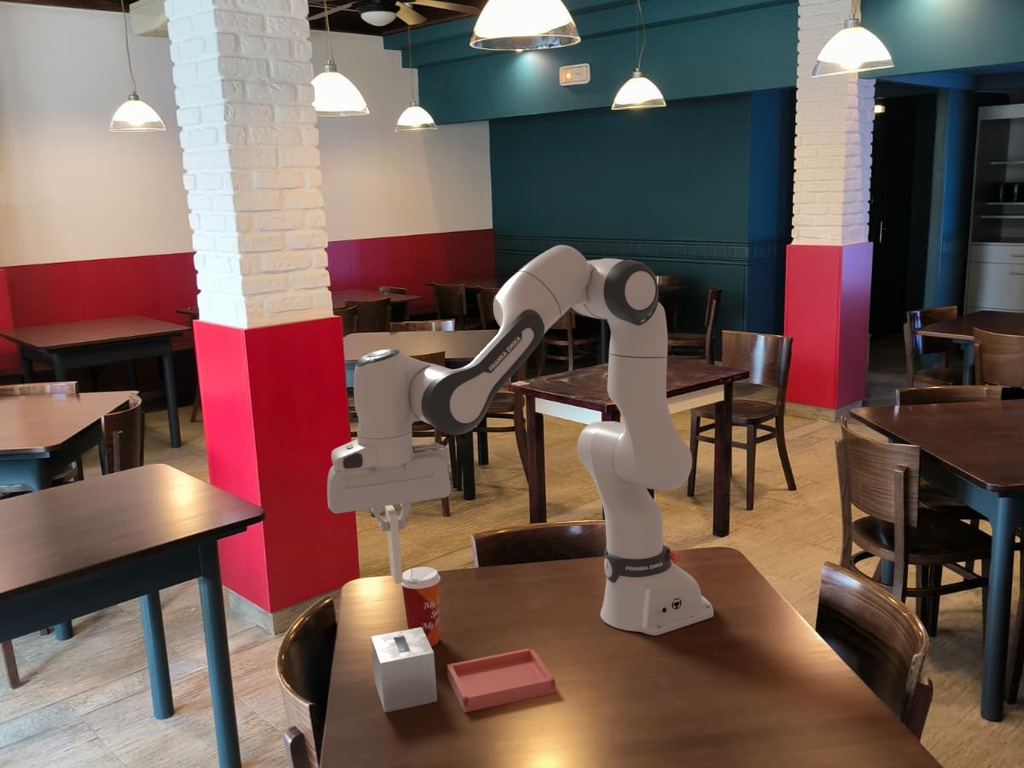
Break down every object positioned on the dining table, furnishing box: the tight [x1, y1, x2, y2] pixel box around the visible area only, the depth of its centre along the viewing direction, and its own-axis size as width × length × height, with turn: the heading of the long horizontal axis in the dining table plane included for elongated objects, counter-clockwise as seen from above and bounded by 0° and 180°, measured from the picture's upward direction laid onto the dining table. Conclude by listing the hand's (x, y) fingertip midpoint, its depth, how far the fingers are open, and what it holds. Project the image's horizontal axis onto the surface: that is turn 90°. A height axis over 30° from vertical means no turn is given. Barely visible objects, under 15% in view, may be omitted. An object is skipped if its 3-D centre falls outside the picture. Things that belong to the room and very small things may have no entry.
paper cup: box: [399, 566, 441, 648], centre depth 171 cm, size 8×8×14 cm
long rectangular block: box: [384, 505, 403, 585], centre depth 149 cm, size 1×5×12 cm, turn 17°
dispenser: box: [370, 627, 438, 713], centre depth 153 cm, size 9×10×9 cm
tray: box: [446, 647, 556, 713], centre depth 155 cm, size 16×12×2 cm
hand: (392, 529), depth 148 cm, fingers closed on long rectangular block, 1 cm apart
